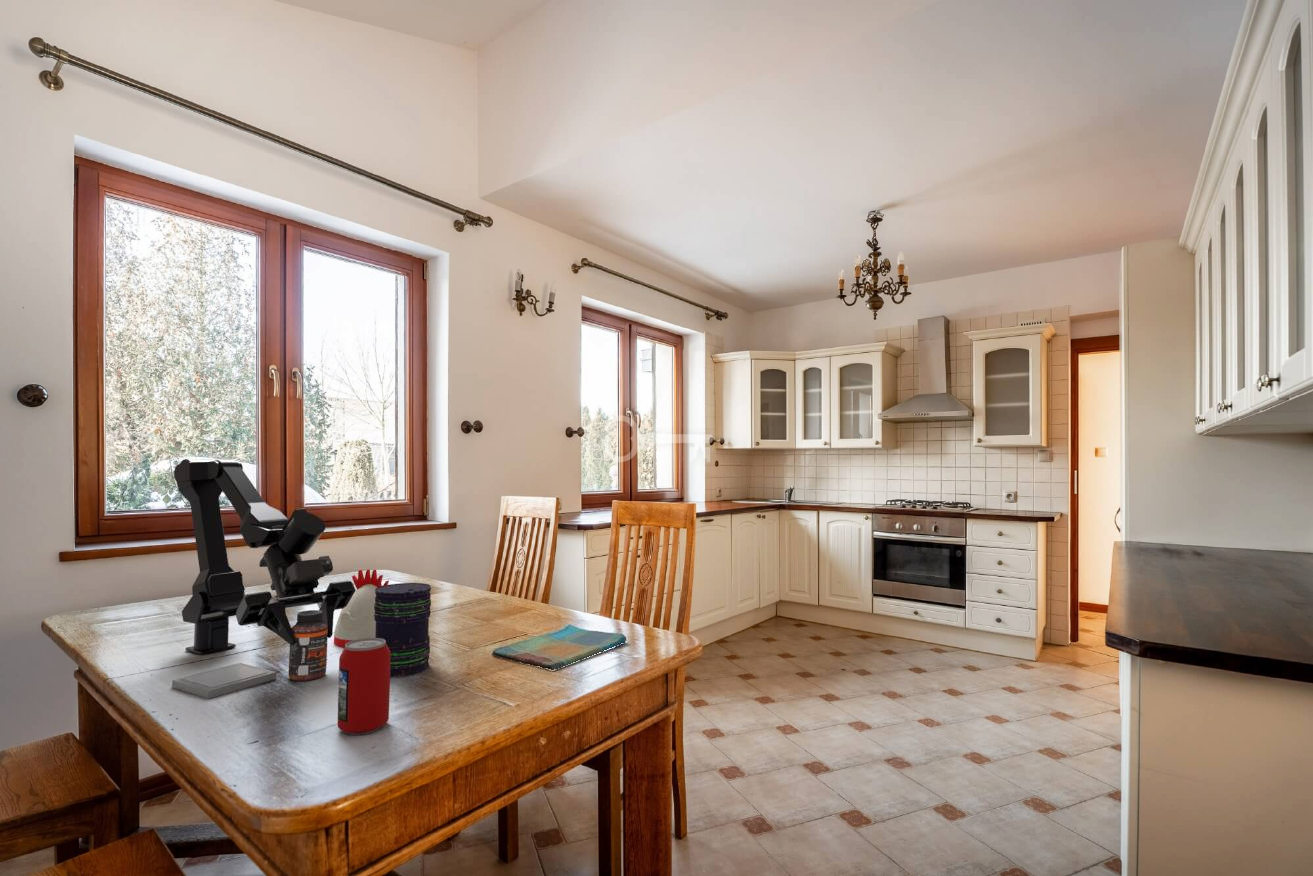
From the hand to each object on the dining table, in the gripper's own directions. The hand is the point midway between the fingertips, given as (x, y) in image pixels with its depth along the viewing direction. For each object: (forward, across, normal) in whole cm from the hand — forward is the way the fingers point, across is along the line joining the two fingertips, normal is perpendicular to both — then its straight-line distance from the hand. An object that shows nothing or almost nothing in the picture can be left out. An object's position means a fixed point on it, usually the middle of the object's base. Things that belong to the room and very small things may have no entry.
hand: (312, 640), depth 114 cm
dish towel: (+20, +40, -10) cm, 46 cm away
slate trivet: (-2, -10, +11) cm, 15 cm away
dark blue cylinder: (+10, +13, 0) cm, 16 cm away
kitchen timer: (-7, +20, +17) cm, 27 cm away
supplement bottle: (+4, 0, +6) cm, 7 cm away
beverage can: (+25, -5, -15) cm, 29 cm away
